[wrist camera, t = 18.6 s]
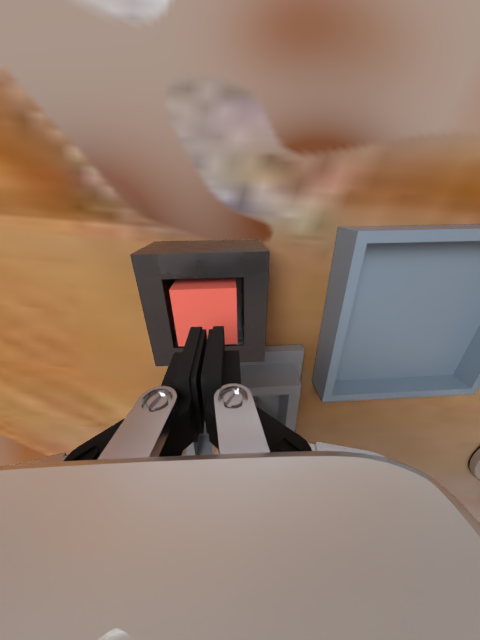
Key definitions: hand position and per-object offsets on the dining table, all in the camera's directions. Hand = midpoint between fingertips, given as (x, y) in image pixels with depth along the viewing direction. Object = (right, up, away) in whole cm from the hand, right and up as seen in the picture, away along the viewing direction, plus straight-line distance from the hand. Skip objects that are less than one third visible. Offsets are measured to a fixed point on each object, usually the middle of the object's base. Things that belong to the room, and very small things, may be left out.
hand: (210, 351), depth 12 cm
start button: (-1, +3, +5) cm, 6 cm away
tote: (+17, +2, +10) cm, 20 cm away
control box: (-1, +4, +8) cm, 9 cm away
